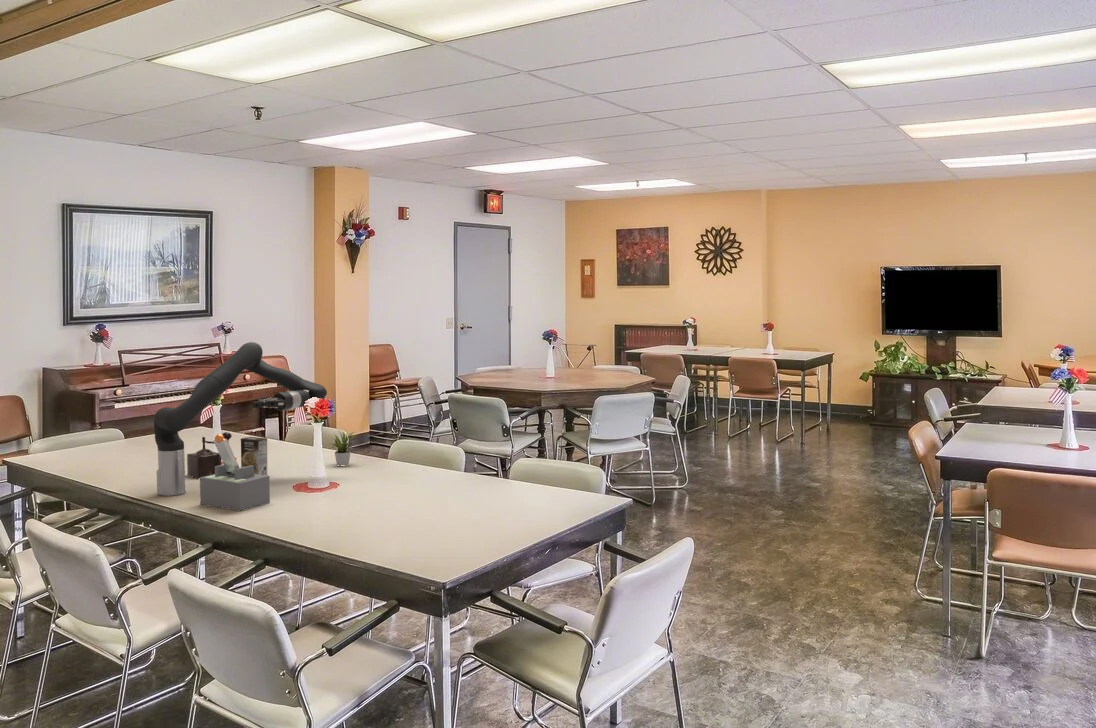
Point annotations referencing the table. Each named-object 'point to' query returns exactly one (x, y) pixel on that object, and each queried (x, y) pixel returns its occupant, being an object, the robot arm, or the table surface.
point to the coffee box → (254, 454)
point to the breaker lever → (226, 454)
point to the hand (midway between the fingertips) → (254, 405)
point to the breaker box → (235, 488)
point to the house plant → (342, 449)
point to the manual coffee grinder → (204, 460)
